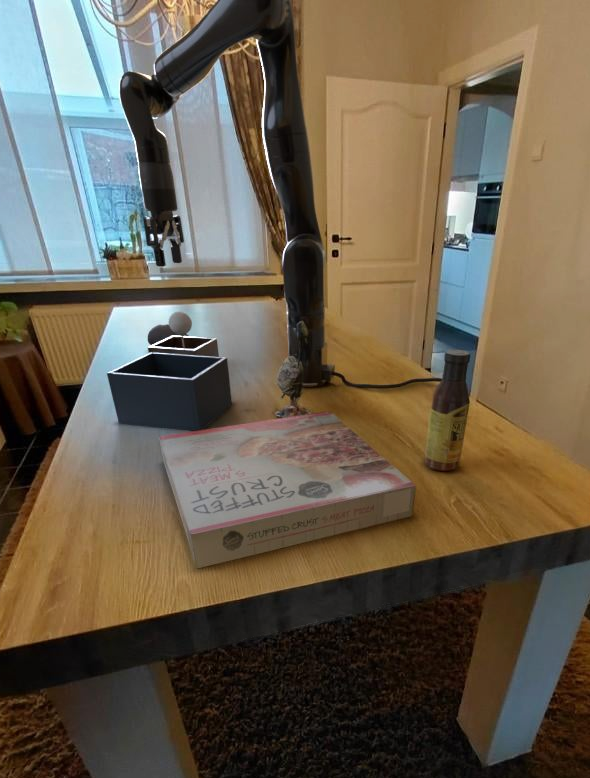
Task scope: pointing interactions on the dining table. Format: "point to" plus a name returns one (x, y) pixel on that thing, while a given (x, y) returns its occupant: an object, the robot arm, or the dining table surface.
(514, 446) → the dining table surface
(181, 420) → the bin
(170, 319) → the lollipop
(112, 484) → the dining table surface
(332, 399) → the dining table surface
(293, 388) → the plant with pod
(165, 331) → the seashell
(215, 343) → the basket
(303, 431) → the pizza box
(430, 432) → the sauce bottle
